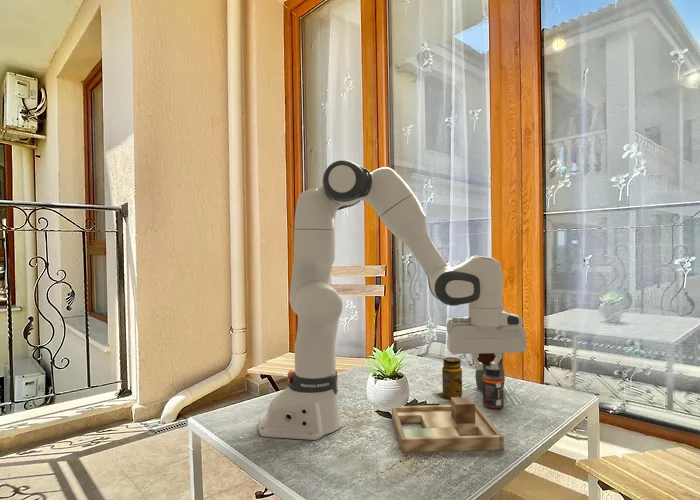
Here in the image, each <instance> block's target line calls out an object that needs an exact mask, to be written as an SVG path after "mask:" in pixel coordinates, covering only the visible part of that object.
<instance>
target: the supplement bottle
mask: <svg viewBox="0 0 700 500" xmlns="http://www.w3.org/2000/svg"><path fill="white" fill-rule="evenodd" d="M482 386H483V391H482V404H483V406H485V407H486V408H490V409H494V410H495V409H501V408H503V407H504V403H505V401H504V395H505V394H504V392H505V391H504V388H505V385H504V386H503V377H502V375H500V368H499V367H498V370H492V369H491V368H490V366H487V367H486V373H485V374H483V377H482Z"/></svg>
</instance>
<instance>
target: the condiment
mask: <svg viewBox="0 0 700 500" xmlns="http://www.w3.org/2000/svg"><path fill="white" fill-rule="evenodd" d="M442 364H443V365H442V372H441V373H442V375H441V377H442V391H441V392H433V393H432V394H433V395H434V397H436V398H437V399H438V400H439V401H441V403H445V402H451V397H465V396H464V395H463V368H462V367H461V359H460V358H458V357H453V356H452V357H451V356H449V357H447V356H446V357H444V359H443V363H442Z"/></svg>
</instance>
